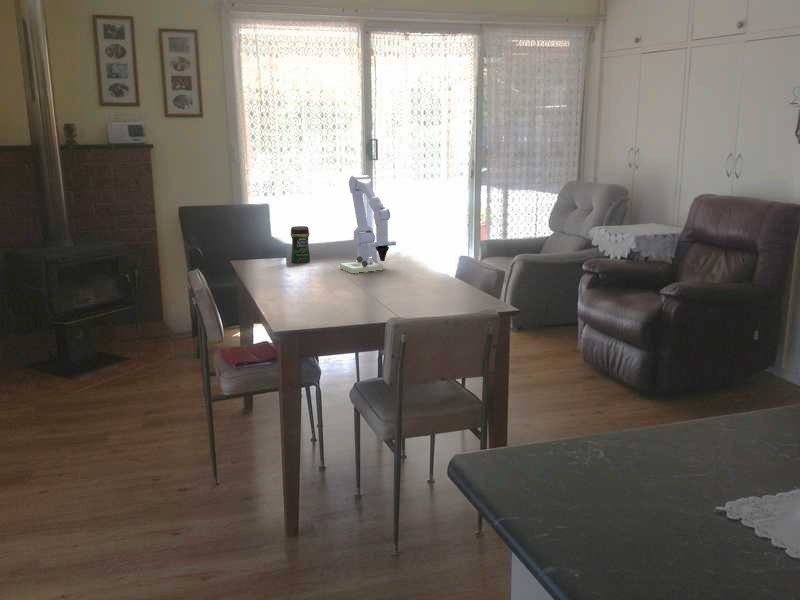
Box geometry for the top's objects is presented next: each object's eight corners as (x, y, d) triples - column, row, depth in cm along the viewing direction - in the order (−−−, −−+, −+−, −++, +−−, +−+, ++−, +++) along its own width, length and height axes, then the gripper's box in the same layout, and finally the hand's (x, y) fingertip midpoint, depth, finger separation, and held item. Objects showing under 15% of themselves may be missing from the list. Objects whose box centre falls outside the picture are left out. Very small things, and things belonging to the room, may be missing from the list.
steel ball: (372, 262, 358) (372, 256, 357) (375, 263, 355) (374, 257, 355) (366, 263, 357) (366, 256, 356) (369, 264, 354) (369, 257, 353)
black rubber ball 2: (366, 265, 350) (366, 259, 349) (369, 266, 347) (368, 260, 347) (360, 266, 349) (360, 260, 348) (363, 267, 346) (363, 261, 345)
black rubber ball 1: (361, 261, 362) (361, 255, 361) (363, 262, 359) (363, 256, 358) (355, 262, 360) (355, 256, 360) (358, 262, 358) (358, 256, 357)
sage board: (369, 265, 364) (369, 260, 364) (383, 270, 352) (383, 265, 351) (340, 268, 357) (340, 263, 356) (353, 273, 344) (352, 268, 344)
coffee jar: (292, 263, 371) (291, 227, 367) (290, 261, 378) (289, 225, 374) (311, 262, 374) (310, 226, 369) (309, 260, 381) (307, 224, 377)
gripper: (372, 235, 349) (372, 263, 352) (398, 233, 356) (399, 260, 359) (365, 233, 355) (366, 261, 358) (392, 231, 362) (392, 258, 365)
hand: (382, 260), depth 359 cm, fingers closed
